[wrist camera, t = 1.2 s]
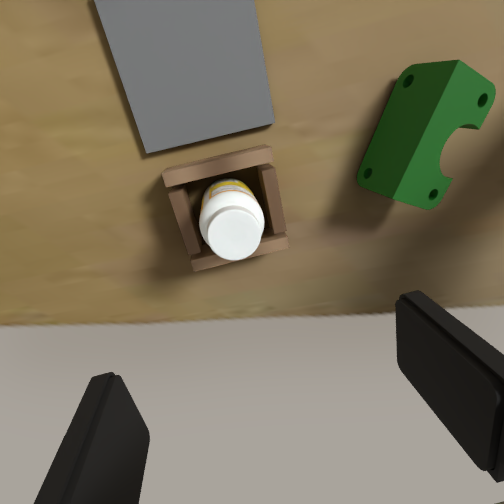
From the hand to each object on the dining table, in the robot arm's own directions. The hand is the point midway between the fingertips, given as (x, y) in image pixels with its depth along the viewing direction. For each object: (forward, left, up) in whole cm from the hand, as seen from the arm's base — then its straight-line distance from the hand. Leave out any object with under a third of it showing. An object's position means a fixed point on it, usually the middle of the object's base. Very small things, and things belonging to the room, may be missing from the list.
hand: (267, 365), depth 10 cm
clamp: (-19, -2, -23) cm, 30 cm away
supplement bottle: (0, 0, -23) cm, 23 cm away
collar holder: (0, 0, -23) cm, 23 cm away
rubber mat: (0, -12, -23) cm, 26 cm away
